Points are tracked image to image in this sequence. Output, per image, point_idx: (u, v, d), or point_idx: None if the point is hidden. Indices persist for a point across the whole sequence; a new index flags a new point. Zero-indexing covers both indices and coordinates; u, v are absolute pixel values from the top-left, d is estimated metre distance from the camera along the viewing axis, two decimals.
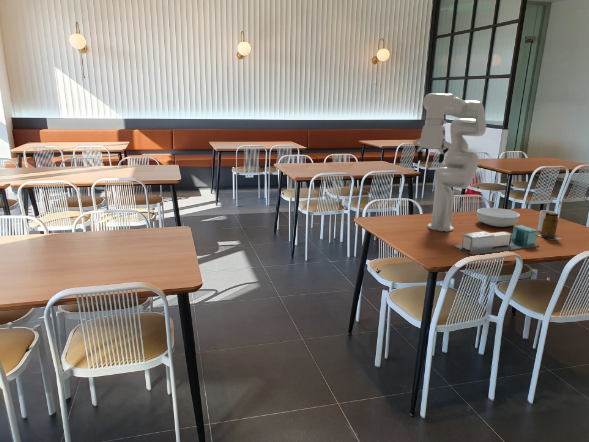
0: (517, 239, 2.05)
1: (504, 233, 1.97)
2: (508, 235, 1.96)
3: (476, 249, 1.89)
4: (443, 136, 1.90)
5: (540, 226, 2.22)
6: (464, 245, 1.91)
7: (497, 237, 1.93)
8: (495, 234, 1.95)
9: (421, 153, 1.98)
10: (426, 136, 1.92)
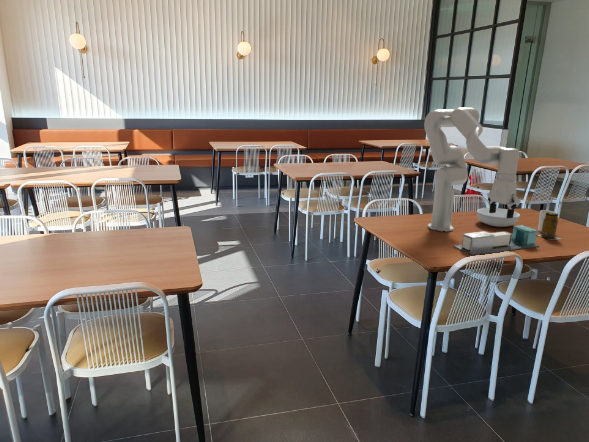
0: (517, 239, 2.05)
1: (504, 233, 1.97)
2: (508, 235, 1.96)
3: (476, 249, 1.89)
4: None
5: (540, 226, 2.22)
6: (464, 245, 1.91)
7: (497, 237, 1.93)
8: (495, 234, 1.95)
9: None
10: None
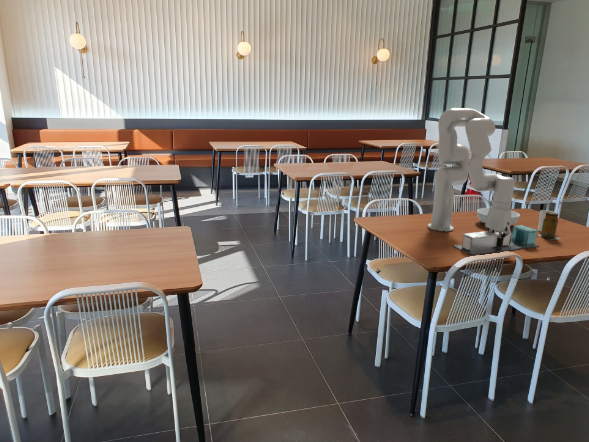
0: (517, 239, 2.05)
1: None
2: (508, 235, 1.96)
3: (476, 249, 1.89)
4: None
5: (540, 226, 2.22)
6: (464, 245, 1.91)
7: (497, 237, 1.93)
8: (495, 234, 1.95)
9: None
10: None
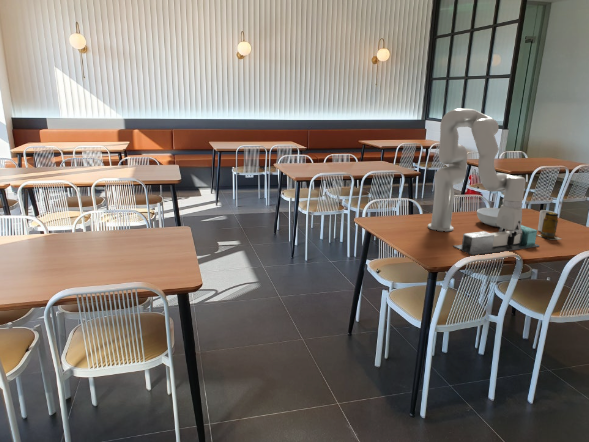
0: None
1: None
2: (519, 234, 1.98)
3: (476, 249, 1.89)
4: None
5: (540, 226, 2.22)
6: None
7: None
8: (505, 233, 1.97)
9: None
10: None
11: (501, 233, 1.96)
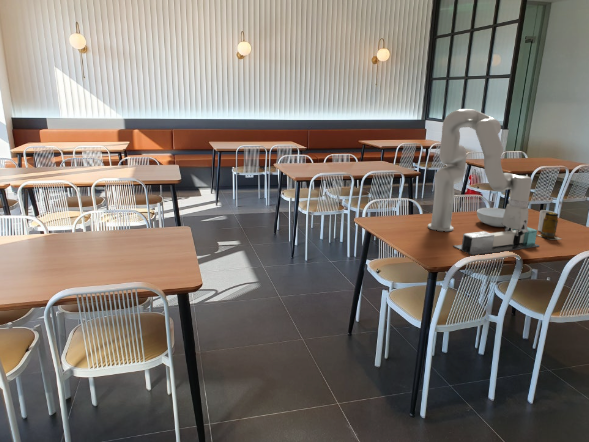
0: None
1: None
2: None
3: (476, 249, 1.89)
4: None
5: (540, 226, 2.22)
6: None
7: (514, 235, 1.97)
8: (511, 232, 1.98)
9: None
10: None
11: (507, 232, 1.98)
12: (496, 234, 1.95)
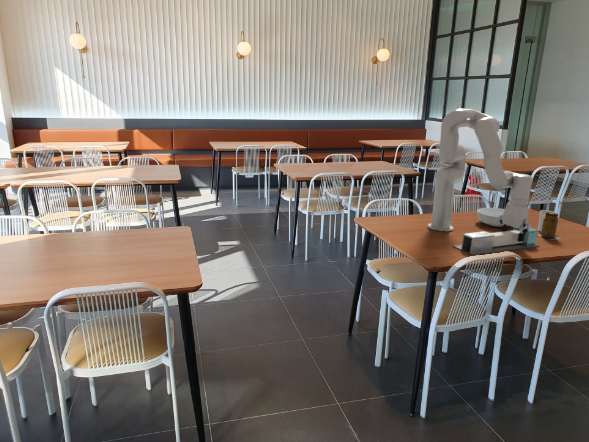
0: None
1: None
2: None
3: (476, 249, 1.89)
4: None
5: (540, 226, 2.22)
6: None
7: (514, 235, 1.97)
8: (512, 232, 1.98)
9: None
10: None
11: (508, 232, 1.98)
12: (496, 234, 1.95)
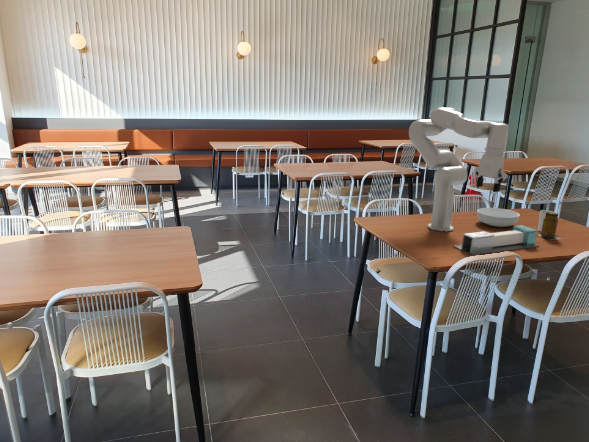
0: None
1: (521, 231, 2.00)
2: None
3: (476, 249, 1.89)
4: None
5: (540, 226, 2.22)
6: None
7: (514, 235, 1.97)
8: (512, 232, 1.98)
9: None
10: None
11: (508, 232, 1.98)
12: (496, 234, 1.95)
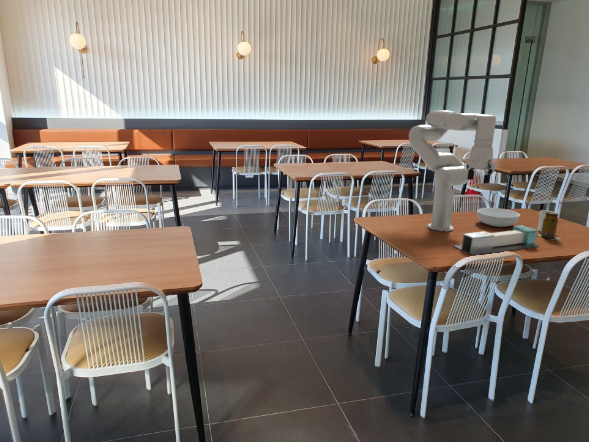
0: None
1: (521, 231, 2.00)
2: None
3: (476, 249, 1.89)
4: None
5: (540, 226, 2.22)
6: None
7: (514, 235, 1.97)
8: (512, 232, 1.98)
9: None
10: None
11: (508, 232, 1.98)
12: (496, 234, 1.95)
